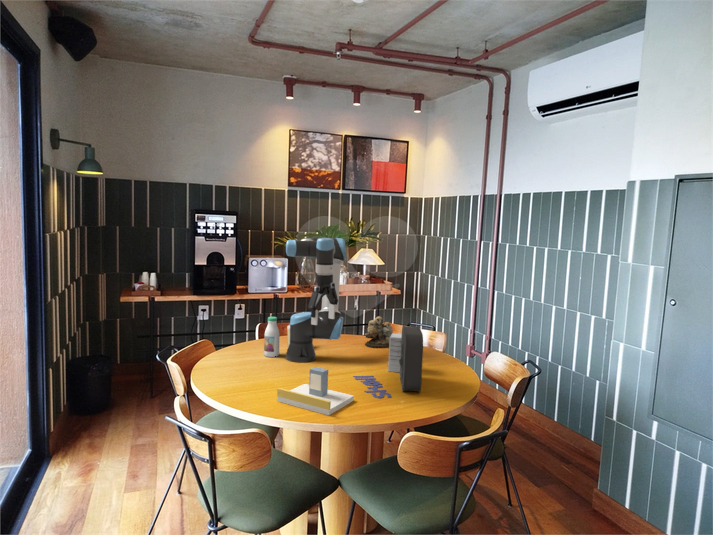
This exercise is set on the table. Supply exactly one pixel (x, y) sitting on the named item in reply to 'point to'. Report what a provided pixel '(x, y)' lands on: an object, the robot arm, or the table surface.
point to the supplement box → (394, 352)
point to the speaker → (411, 358)
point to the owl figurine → (378, 333)
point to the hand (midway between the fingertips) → (323, 321)
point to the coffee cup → (288, 334)
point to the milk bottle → (271, 338)
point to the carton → (318, 382)
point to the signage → (374, 383)
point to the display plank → (314, 399)
